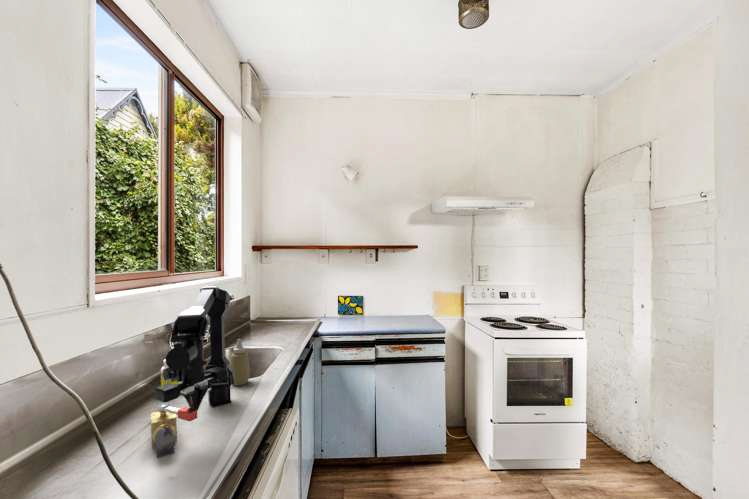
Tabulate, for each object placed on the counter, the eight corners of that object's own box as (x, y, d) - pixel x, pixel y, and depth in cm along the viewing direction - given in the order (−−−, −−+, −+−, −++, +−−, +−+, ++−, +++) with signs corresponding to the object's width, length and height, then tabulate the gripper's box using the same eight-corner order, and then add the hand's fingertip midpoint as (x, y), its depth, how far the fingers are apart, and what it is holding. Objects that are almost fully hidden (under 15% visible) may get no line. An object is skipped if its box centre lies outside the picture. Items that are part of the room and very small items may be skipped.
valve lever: (198, 417, 95) (198, 409, 95) (188, 422, 93) (188, 413, 93) (165, 408, 102) (164, 400, 102) (154, 412, 99) (154, 404, 99)
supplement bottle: (166, 389, 137) (166, 357, 137) (184, 388, 138) (183, 356, 138) (157, 396, 131) (156, 362, 131) (175, 395, 131) (175, 361, 131)
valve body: (173, 421, 110) (172, 395, 110) (179, 453, 92) (178, 422, 92) (150, 426, 107) (150, 400, 107) (152, 461, 89) (151, 429, 89)
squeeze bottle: (230, 388, 136) (229, 342, 136) (228, 382, 143) (227, 338, 144) (251, 384, 140) (250, 340, 140) (249, 378, 147) (248, 336, 147)
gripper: (205, 346, 109) (207, 395, 110) (141, 364, 93) (143, 421, 93) (228, 350, 104) (230, 402, 104) (164, 370, 88) (166, 431, 88)
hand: (194, 413), depth 97 cm, fingers closed
